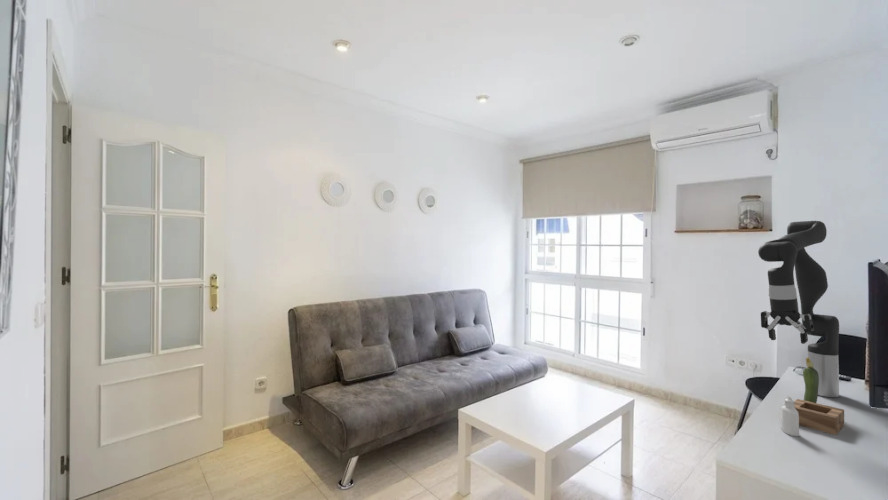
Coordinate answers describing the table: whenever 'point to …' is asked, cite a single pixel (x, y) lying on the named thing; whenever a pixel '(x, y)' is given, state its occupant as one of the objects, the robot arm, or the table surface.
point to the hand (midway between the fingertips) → (788, 341)
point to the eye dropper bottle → (790, 418)
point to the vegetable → (810, 382)
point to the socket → (820, 416)
